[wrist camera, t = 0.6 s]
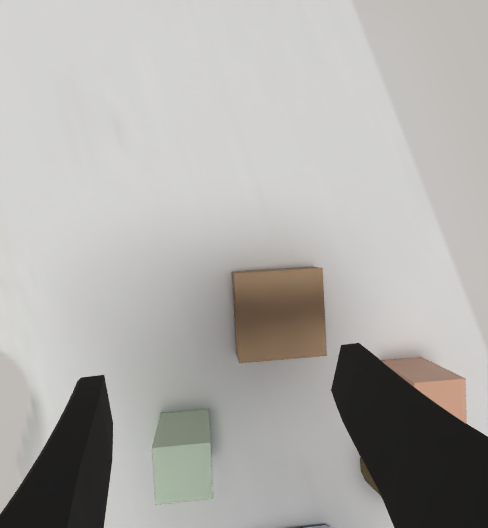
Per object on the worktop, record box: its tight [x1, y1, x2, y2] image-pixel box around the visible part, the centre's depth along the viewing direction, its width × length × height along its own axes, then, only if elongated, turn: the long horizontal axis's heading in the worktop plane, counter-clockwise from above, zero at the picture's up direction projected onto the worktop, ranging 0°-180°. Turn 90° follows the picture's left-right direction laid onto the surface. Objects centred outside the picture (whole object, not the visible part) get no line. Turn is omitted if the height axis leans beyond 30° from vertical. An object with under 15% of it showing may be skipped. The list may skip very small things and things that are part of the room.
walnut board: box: [232, 267, 327, 363], centre depth 33 cm, size 7×7×3 cm
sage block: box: [152, 409, 213, 505], centre depth 31 cm, size 4×4×6 cm
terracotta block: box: [381, 357, 467, 424], centre depth 33 cm, size 4×4×6 cm
